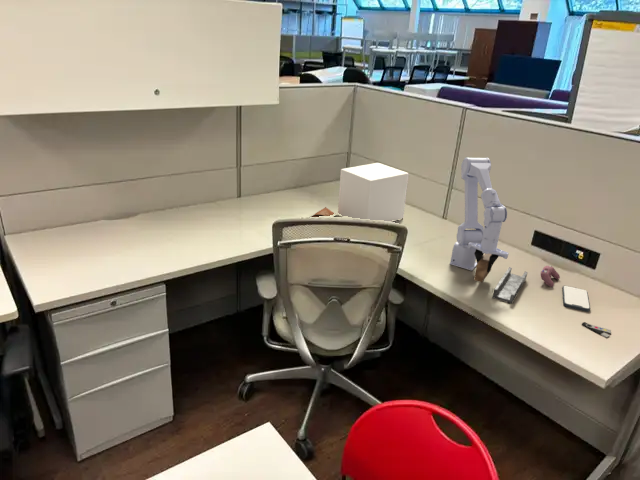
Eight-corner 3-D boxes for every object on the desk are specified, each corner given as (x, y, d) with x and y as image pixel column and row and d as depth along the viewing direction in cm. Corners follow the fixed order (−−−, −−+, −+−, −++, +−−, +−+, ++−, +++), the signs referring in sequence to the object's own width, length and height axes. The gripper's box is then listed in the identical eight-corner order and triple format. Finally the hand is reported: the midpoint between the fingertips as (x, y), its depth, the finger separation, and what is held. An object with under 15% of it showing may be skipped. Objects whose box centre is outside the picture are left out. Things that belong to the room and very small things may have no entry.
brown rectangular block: (473, 280, 182) (477, 263, 179) (483, 268, 191) (486, 252, 188) (481, 282, 180) (485, 265, 178) (490, 270, 190) (494, 254, 187)
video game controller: (549, 279, 196) (544, 263, 196) (561, 278, 193) (556, 261, 192) (541, 288, 189) (536, 271, 188) (553, 287, 186) (549, 270, 185)
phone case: (561, 288, 188) (562, 307, 175) (562, 284, 188) (563, 303, 174) (586, 293, 185) (590, 313, 172) (587, 290, 185) (591, 309, 171)
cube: (373, 207, 261) (378, 162, 251) (403, 220, 245) (408, 173, 235) (337, 216, 246) (340, 169, 236) (366, 230, 231) (370, 180, 221)
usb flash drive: (580, 325, 164) (581, 323, 164) (589, 321, 167) (590, 319, 167) (605, 339, 158) (606, 336, 157) (614, 334, 160) (615, 332, 160)
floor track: (492, 297, 178) (494, 289, 177) (507, 274, 195) (509, 267, 194) (511, 303, 175) (514, 295, 173) (525, 280, 192) (527, 272, 190)
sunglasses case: (323, 226, 232) (317, 213, 231) (311, 230, 235) (306, 218, 234) (339, 215, 246) (333, 203, 245) (327, 219, 250) (322, 207, 249)
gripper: (467, 235, 180) (461, 268, 185) (507, 246, 173) (500, 279, 178) (473, 229, 185) (467, 261, 191) (512, 239, 178) (505, 272, 184)
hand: (483, 270), depth 185 cm, fingers closed on brown rectangular block, 3 cm apart
